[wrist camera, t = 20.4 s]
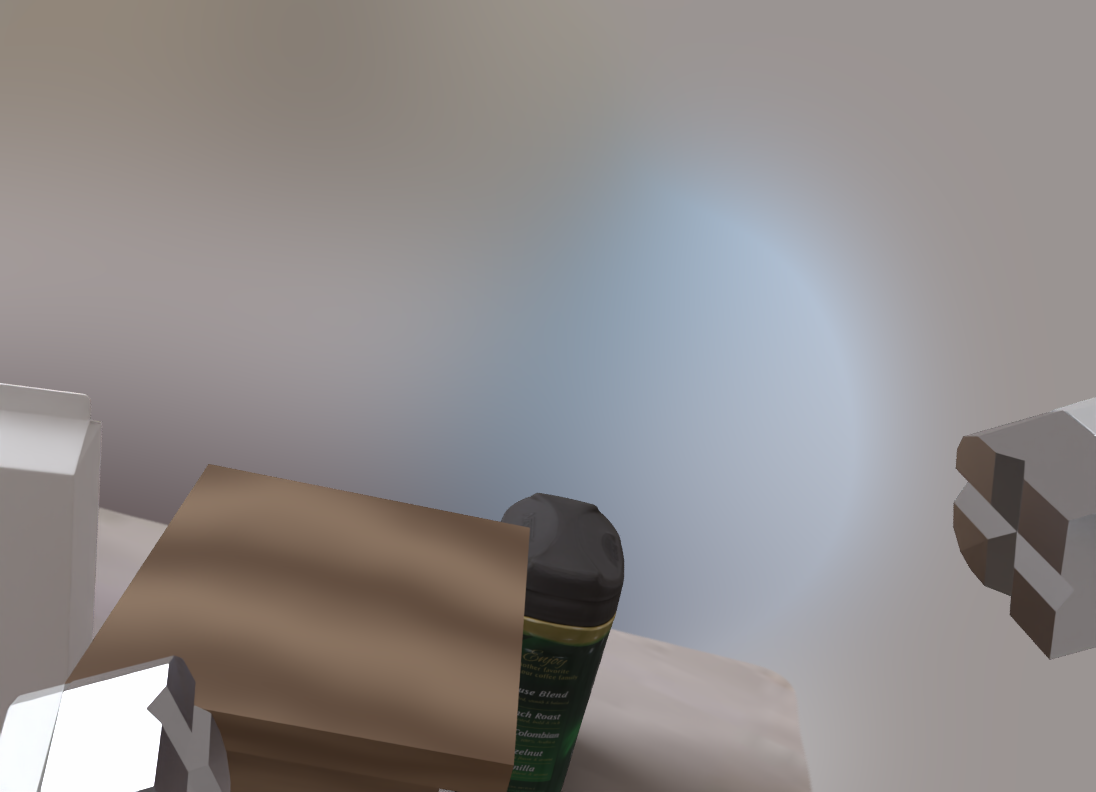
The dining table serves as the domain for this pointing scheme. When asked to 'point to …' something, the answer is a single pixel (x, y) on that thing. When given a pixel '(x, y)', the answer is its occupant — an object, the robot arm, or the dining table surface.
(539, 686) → the coffee jar
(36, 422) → the milk
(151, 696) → the robot arm
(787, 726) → the dining table surface
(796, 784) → the dining table surface
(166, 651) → the walnut stand
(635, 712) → the dining table surface
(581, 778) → the dining table surface
